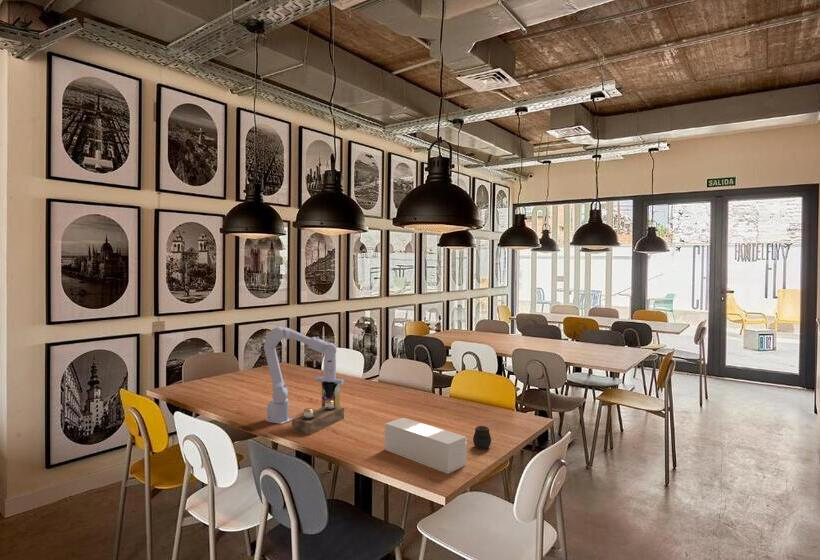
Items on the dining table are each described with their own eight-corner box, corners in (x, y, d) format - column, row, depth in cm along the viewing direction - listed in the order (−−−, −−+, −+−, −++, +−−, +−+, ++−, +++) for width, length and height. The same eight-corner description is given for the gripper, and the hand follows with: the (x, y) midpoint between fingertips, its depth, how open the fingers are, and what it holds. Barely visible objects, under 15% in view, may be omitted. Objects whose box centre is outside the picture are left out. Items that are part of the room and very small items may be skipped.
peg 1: (301, 420, 211) (302, 409, 211) (307, 417, 214) (307, 407, 214) (309, 421, 209) (309, 411, 209) (314, 418, 213) (314, 408, 213)
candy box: (320, 409, 243) (321, 379, 243) (326, 407, 247) (326, 377, 247) (334, 412, 239) (335, 381, 239) (340, 409, 243) (340, 379, 242)
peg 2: (323, 410, 225) (323, 401, 225) (328, 408, 229) (328, 399, 229) (330, 411, 224) (330, 402, 224) (335, 409, 227) (335, 400, 227)
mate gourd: (489, 444, 197) (489, 420, 197) (492, 451, 190) (493, 426, 190) (471, 443, 197) (472, 419, 197) (474, 451, 190) (475, 426, 189)
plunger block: (291, 431, 210) (292, 419, 209) (326, 415, 233) (326, 405, 233) (310, 434, 205) (310, 423, 205) (344, 418, 229) (344, 407, 229)
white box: (466, 465, 176) (466, 436, 175) (447, 474, 168) (448, 444, 168) (403, 443, 197) (403, 417, 197) (384, 450, 190) (384, 423, 189)
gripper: (347, 369, 226) (347, 397, 227) (322, 366, 233) (321, 394, 233) (339, 371, 220) (338, 401, 220) (313, 368, 226) (313, 397, 227)
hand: (329, 397), depth 226 cm, fingers closed
